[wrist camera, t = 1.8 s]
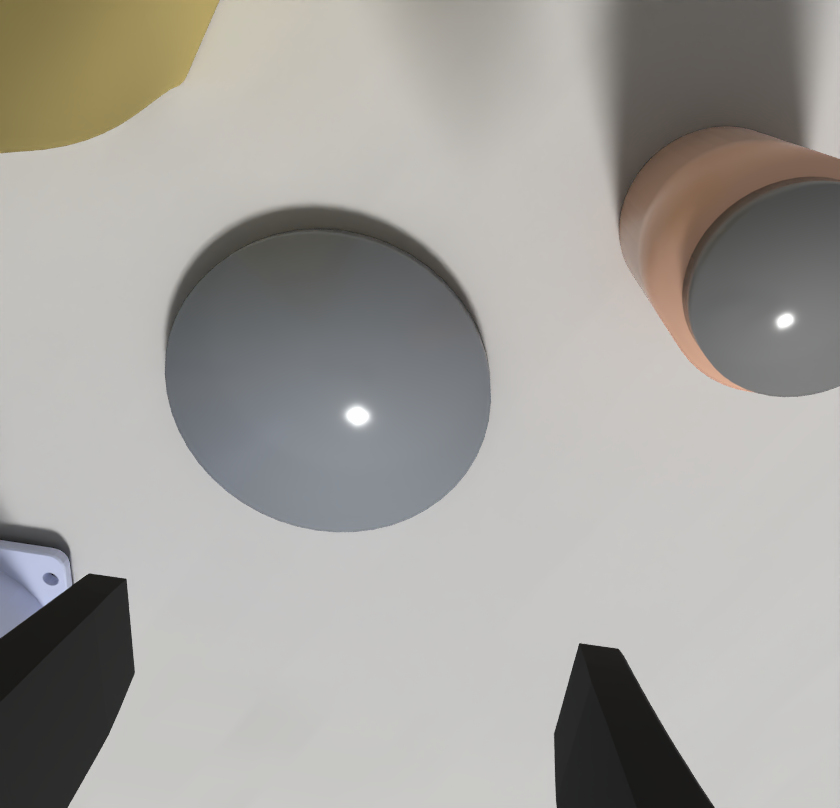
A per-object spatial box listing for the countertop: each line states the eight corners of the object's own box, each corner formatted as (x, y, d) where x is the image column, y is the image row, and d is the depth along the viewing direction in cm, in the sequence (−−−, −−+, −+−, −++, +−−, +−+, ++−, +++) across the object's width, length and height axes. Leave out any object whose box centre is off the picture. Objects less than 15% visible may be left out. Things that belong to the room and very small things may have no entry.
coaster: (464, 540, 23) (463, 552, 22) (176, 497, 23) (169, 508, 22) (517, 255, 19) (518, 261, 18) (168, 205, 19) (159, 210, 18)
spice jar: (769, 318, 19) (882, 427, 14) (600, 294, 19) (647, 393, 14) (833, 140, 17) (993, 186, 12) (644, 113, 17) (719, 147, 12)
